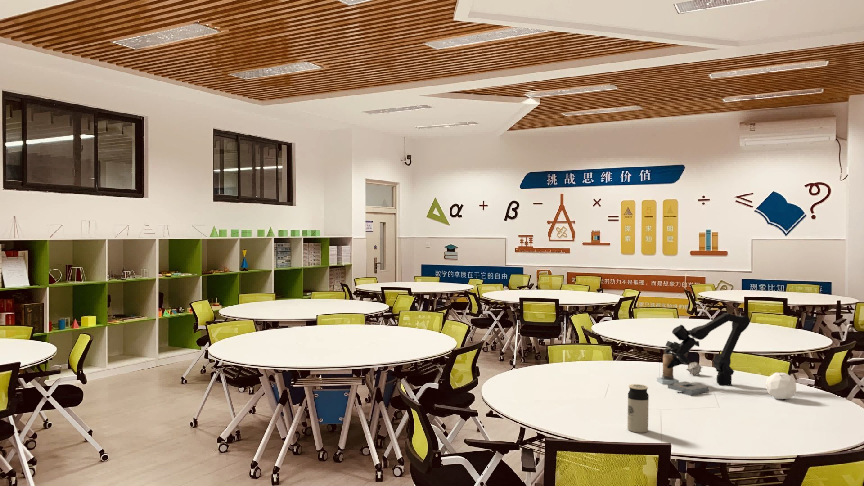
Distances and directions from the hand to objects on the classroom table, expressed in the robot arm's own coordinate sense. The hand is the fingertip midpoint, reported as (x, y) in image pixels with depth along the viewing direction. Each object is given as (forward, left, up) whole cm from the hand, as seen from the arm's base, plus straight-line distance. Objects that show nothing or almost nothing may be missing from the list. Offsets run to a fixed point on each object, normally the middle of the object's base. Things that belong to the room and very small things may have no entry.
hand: (665, 366), depth 338 cm
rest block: (-1, 0, -9) cm, 10 cm away
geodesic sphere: (-50, +21, -10) cm, 55 cm away
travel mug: (+30, +88, -10) cm, 94 cm away
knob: (-1, 0, -7) cm, 7 cm away
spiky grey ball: (-22, -29, -10) cm, 38 cm away
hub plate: (-8, +14, -9) cm, 19 cm away
